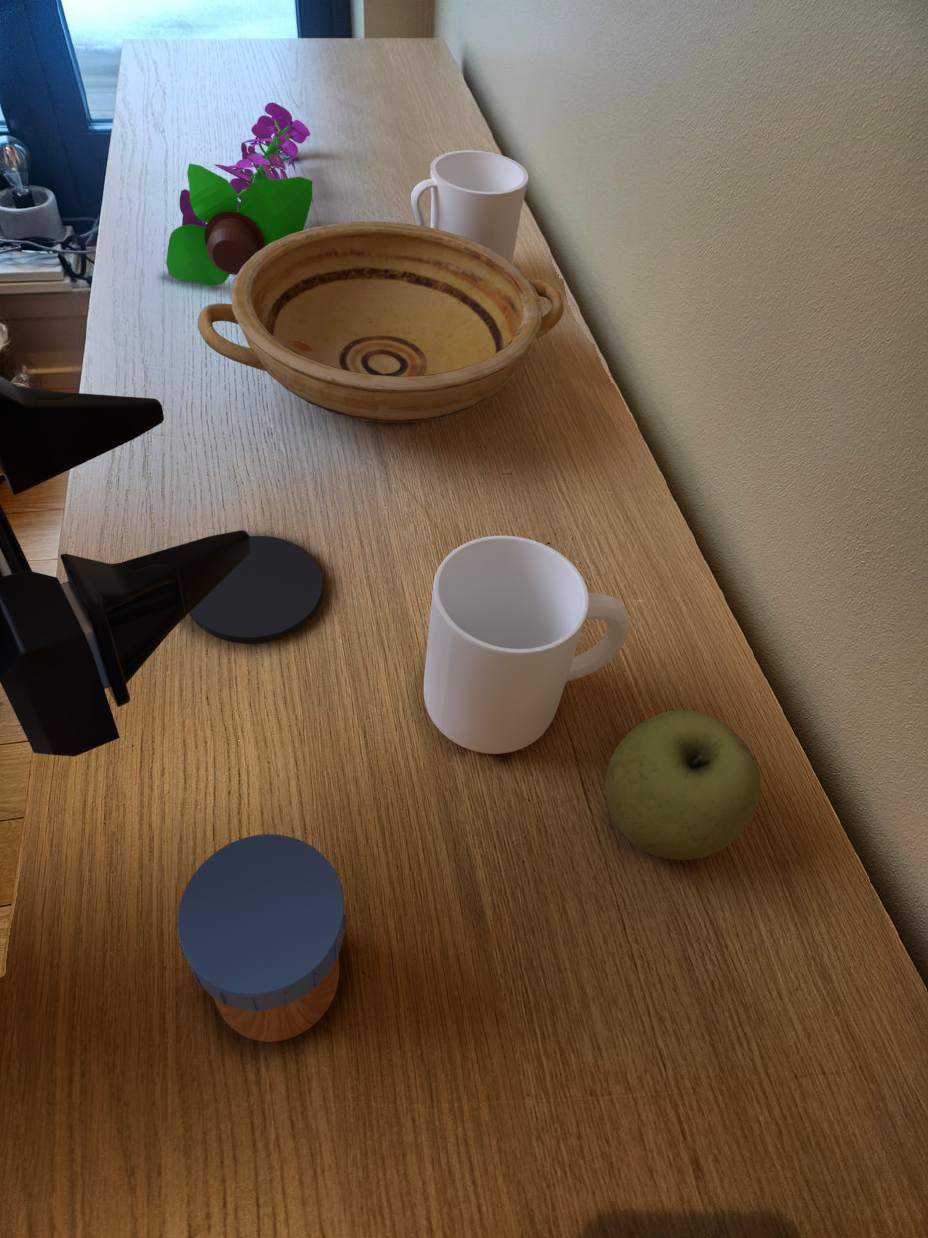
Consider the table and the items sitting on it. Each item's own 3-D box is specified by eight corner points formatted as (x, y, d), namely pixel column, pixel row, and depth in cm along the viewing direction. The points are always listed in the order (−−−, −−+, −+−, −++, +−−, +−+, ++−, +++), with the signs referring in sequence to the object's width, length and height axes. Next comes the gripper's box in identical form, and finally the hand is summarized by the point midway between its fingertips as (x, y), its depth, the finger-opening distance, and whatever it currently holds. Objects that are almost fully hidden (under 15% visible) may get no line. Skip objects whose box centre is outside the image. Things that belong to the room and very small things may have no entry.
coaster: (220, 664, 53) (218, 658, 53) (162, 571, 57) (160, 565, 57) (348, 608, 57) (348, 602, 56) (284, 525, 61) (284, 519, 61)
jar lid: (227, 1046, 34) (220, 1030, 32) (160, 906, 37) (150, 884, 35) (373, 953, 37) (374, 933, 35) (299, 830, 40) (296, 806, 38)
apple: (755, 858, 48) (805, 797, 43) (629, 902, 46) (666, 844, 40) (687, 746, 52) (725, 677, 47) (569, 781, 50) (595, 714, 45)
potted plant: (194, 351, 80) (247, 206, 104) (348, 275, 75) (366, 141, 99) (100, 228, 72) (182, 102, 96) (267, 135, 67) (308, 26, 91)
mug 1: (490, 251, 89) (503, 146, 81) (527, 296, 84) (545, 188, 76) (391, 264, 86) (394, 155, 78) (424, 311, 81) (431, 200, 73)
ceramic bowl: (503, 292, 84) (514, 210, 78) (600, 449, 70) (623, 364, 64) (192, 317, 77) (177, 228, 70) (229, 499, 62) (215, 407, 56)
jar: (247, 1070, 39) (226, 1021, 33) (192, 956, 42) (164, 892, 36) (362, 994, 42) (362, 935, 35) (303, 892, 44) (294, 821, 38)
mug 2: (588, 634, 57) (625, 523, 49) (629, 740, 52) (678, 634, 44) (411, 655, 55) (420, 541, 47) (436, 768, 50) (451, 662, 42)
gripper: (-324, 643, 19) (301, 456, 26) (-391, 244, 28) (91, 182, 35) (-131, 852, 28) (303, 669, 35) (-229, 495, 37) (134, 405, 44)
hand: (202, 471), depth 37 cm, fingers open, 9 cm apart
